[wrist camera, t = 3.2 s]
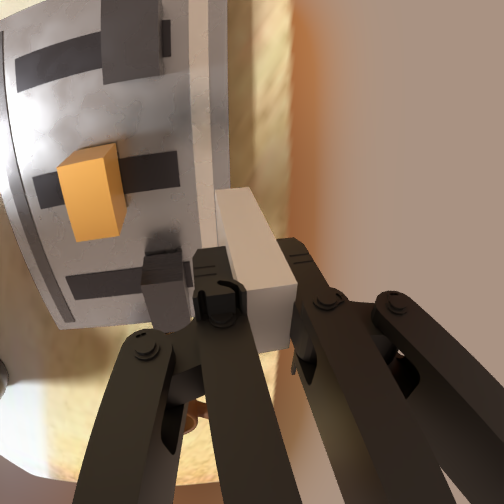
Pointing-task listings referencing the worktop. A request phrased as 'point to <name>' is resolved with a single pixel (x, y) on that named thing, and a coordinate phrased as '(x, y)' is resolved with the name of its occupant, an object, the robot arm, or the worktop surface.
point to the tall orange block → (93, 192)
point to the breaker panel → (128, 149)
